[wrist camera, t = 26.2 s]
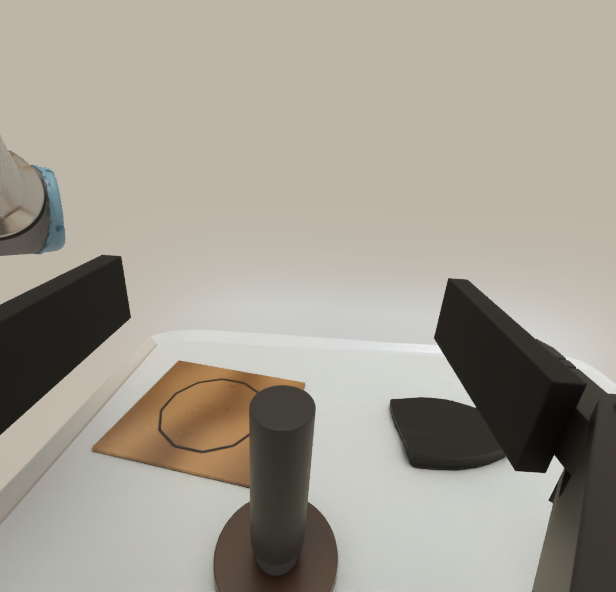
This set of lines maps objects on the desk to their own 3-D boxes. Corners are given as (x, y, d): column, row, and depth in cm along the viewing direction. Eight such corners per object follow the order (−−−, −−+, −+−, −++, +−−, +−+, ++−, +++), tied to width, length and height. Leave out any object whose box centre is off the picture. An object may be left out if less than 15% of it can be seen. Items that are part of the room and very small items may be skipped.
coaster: (190, 615, 20) (188, 605, 19) (242, 492, 27) (241, 483, 27) (326, 657, 18) (328, 647, 18) (342, 516, 26) (344, 506, 25)
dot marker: (242, 573, 21) (238, 422, 16) (260, 520, 24) (261, 380, 19) (296, 588, 20) (308, 436, 16) (307, 531, 24) (320, 390, 19)
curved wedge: (557, 474, 30) (564, 461, 30) (406, 468, 30) (410, 455, 29) (507, 408, 38) (511, 397, 37) (386, 403, 38) (388, 391, 37)
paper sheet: (91, 450, 30) (91, 447, 30) (179, 362, 42) (178, 359, 42) (268, 492, 27) (268, 489, 27) (304, 384, 40) (305, 382, 40)
